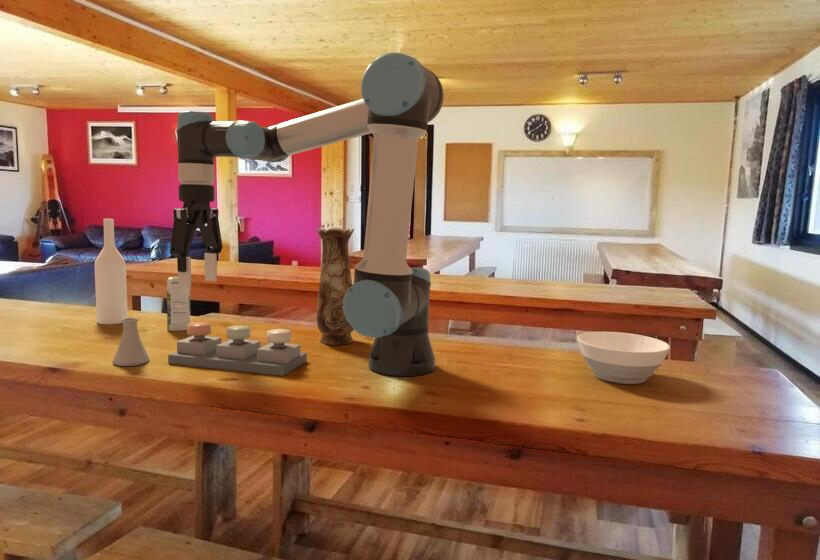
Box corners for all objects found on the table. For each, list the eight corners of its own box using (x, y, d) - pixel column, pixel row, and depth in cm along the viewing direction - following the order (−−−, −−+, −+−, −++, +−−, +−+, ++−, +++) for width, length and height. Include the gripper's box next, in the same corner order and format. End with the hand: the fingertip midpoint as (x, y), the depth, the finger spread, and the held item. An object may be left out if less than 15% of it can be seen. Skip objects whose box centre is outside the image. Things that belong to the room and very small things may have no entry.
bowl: (672, 374, 135) (675, 339, 134) (659, 397, 119) (663, 357, 118) (586, 360, 145) (588, 327, 144) (564, 380, 129) (566, 343, 127)
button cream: (294, 348, 134) (294, 330, 133) (284, 354, 128) (284, 335, 128) (273, 346, 135) (273, 328, 134) (262, 351, 130) (262, 333, 129)
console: (306, 361, 137) (306, 342, 136) (283, 375, 125) (283, 355, 125) (199, 350, 144) (199, 332, 143) (168, 363, 132) (167, 343, 131)
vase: (339, 348, 150) (340, 229, 146) (307, 341, 156) (307, 227, 152) (363, 340, 159) (365, 228, 155) (332, 334, 165) (333, 226, 161)
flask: (135, 368, 128) (133, 323, 126) (105, 365, 129) (103, 320, 128) (155, 359, 135) (154, 316, 133) (127, 357, 136) (126, 314, 135)
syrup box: (168, 327, 168) (167, 276, 166) (191, 326, 170) (190, 276, 168) (167, 331, 163) (165, 279, 161) (190, 330, 165) (188, 279, 163)
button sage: (254, 344, 136) (254, 326, 135) (243, 349, 131) (242, 331, 130) (234, 342, 137) (234, 324, 137) (222, 347, 132) (221, 329, 132)
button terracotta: (215, 340, 138) (215, 323, 138) (203, 346, 133) (202, 327, 133) (196, 339, 139) (195, 321, 139) (182, 344, 134) (182, 325, 134)
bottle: (123, 318, 178) (120, 218, 174) (131, 322, 172) (127, 219, 168) (93, 320, 173) (89, 218, 169) (100, 325, 167) (96, 219, 163)
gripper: (209, 185, 143) (211, 276, 146) (148, 181, 122) (152, 289, 125) (237, 185, 141) (238, 278, 144) (180, 182, 120) (183, 291, 123)
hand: (198, 283), depth 134 cm, fingers open, 9 cm apart
